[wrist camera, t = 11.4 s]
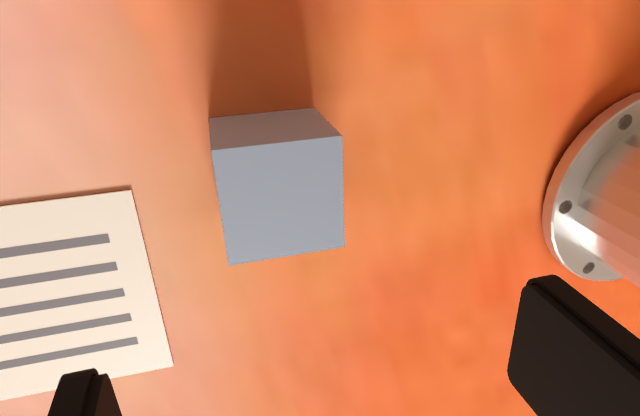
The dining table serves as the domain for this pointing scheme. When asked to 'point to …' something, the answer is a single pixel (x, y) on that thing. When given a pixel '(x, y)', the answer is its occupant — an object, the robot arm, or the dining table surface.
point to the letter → (75, 293)
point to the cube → (278, 183)
